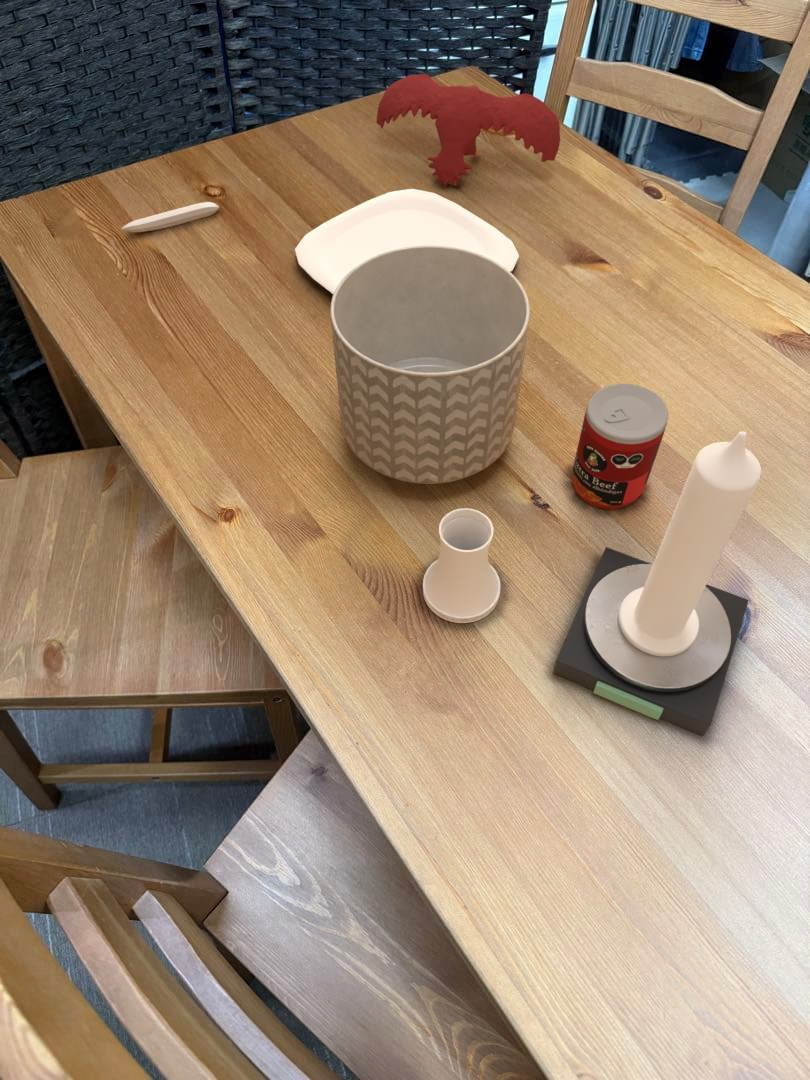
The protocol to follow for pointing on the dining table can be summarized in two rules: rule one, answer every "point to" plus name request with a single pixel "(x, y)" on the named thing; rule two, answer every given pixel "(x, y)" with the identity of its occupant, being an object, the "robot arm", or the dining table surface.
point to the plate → (397, 234)
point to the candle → (691, 549)
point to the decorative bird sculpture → (469, 120)
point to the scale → (638, 677)
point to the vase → (462, 569)
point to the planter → (429, 361)
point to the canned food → (618, 444)
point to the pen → (172, 217)
